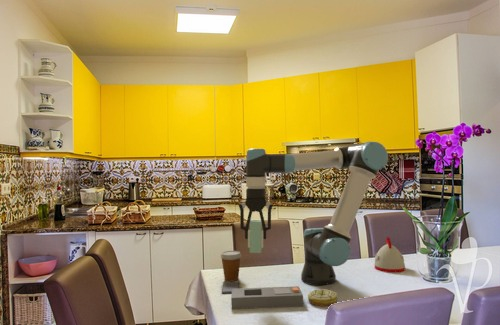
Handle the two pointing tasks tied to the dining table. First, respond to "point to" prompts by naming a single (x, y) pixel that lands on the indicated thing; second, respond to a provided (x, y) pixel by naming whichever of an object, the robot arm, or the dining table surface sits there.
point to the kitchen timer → (389, 259)
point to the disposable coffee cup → (231, 264)
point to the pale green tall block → (255, 236)
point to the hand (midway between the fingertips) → (255, 247)
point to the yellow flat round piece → (322, 297)
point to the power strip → (266, 297)
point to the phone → (229, 287)
